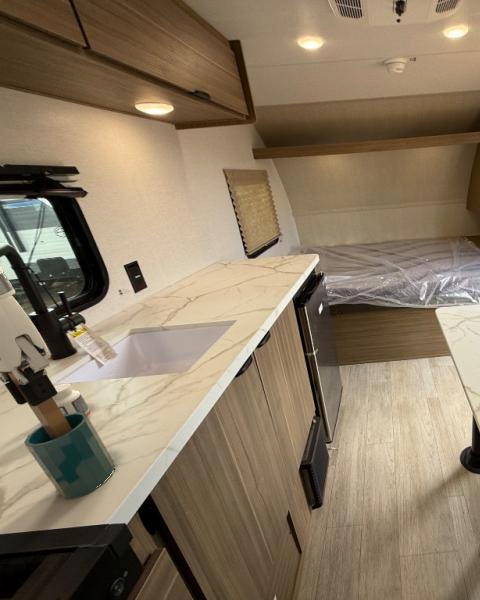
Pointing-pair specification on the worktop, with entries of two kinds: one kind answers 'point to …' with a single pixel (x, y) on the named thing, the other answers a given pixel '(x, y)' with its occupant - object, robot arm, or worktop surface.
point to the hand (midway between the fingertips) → (38, 398)
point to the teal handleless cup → (72, 457)
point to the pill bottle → (70, 400)
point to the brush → (48, 415)
